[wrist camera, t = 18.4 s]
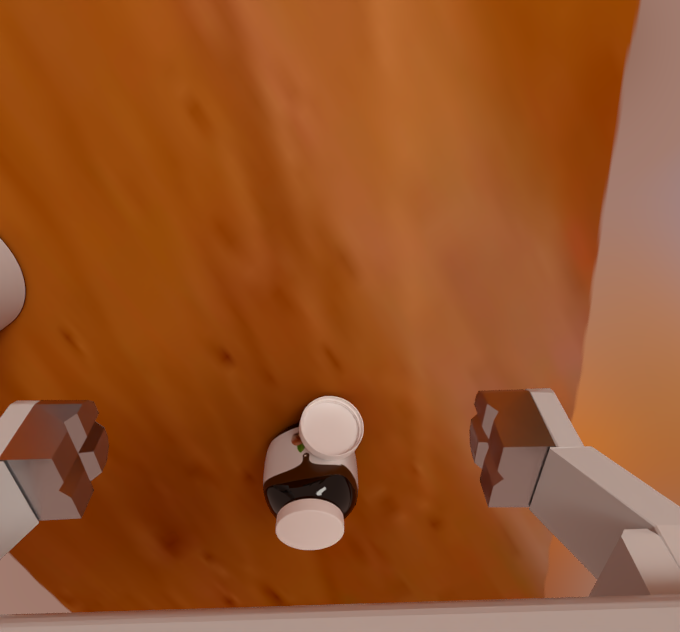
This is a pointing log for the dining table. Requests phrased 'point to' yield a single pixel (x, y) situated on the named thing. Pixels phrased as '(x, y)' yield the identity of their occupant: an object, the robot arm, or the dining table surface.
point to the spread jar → (314, 474)
